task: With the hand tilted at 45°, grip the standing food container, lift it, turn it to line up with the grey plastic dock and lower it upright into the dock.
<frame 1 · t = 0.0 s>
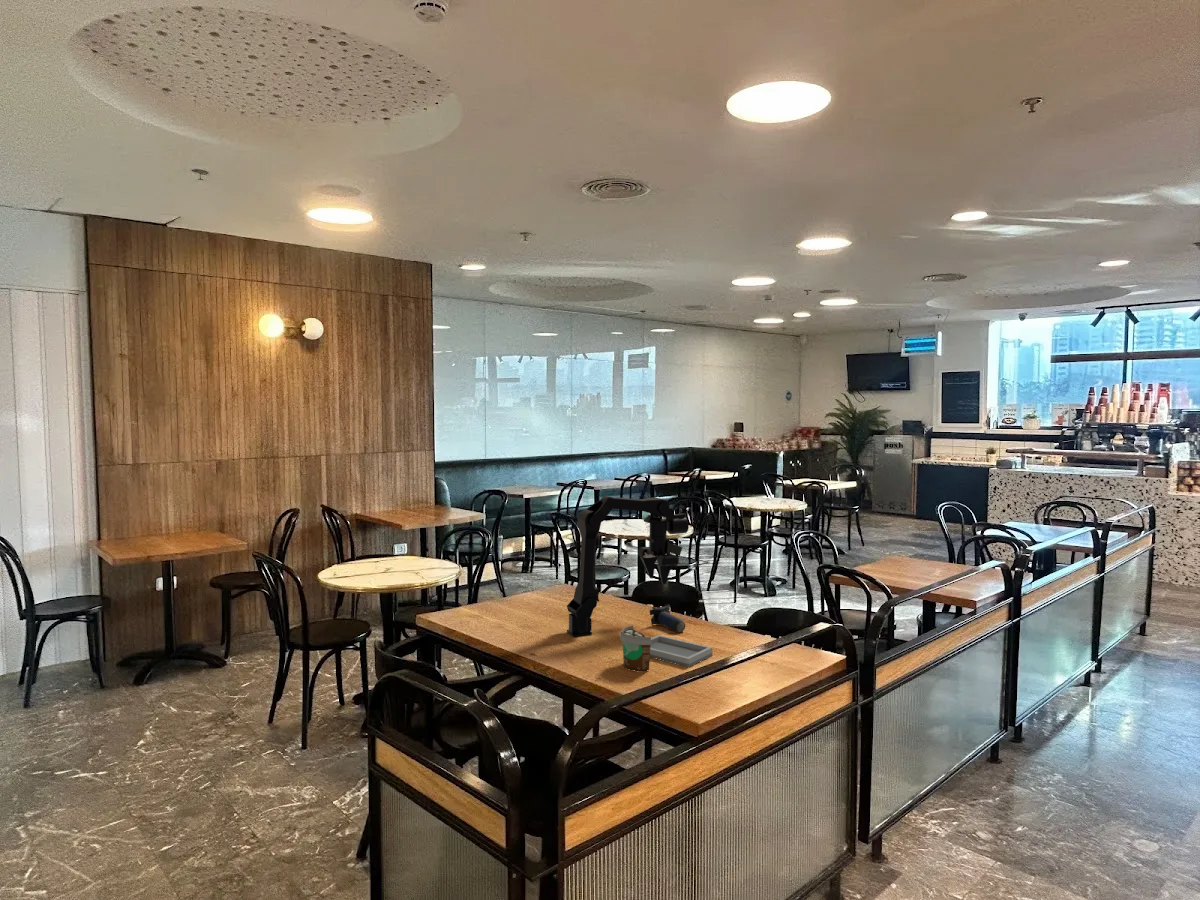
hand: (657, 580, 248), 15 cm above the table, tool pointing down, fingers open, 9 cm apart
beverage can: (669, 629, 244), on the table
dock: (673, 654, 217), on the table
food container: (631, 667, 206), on the table
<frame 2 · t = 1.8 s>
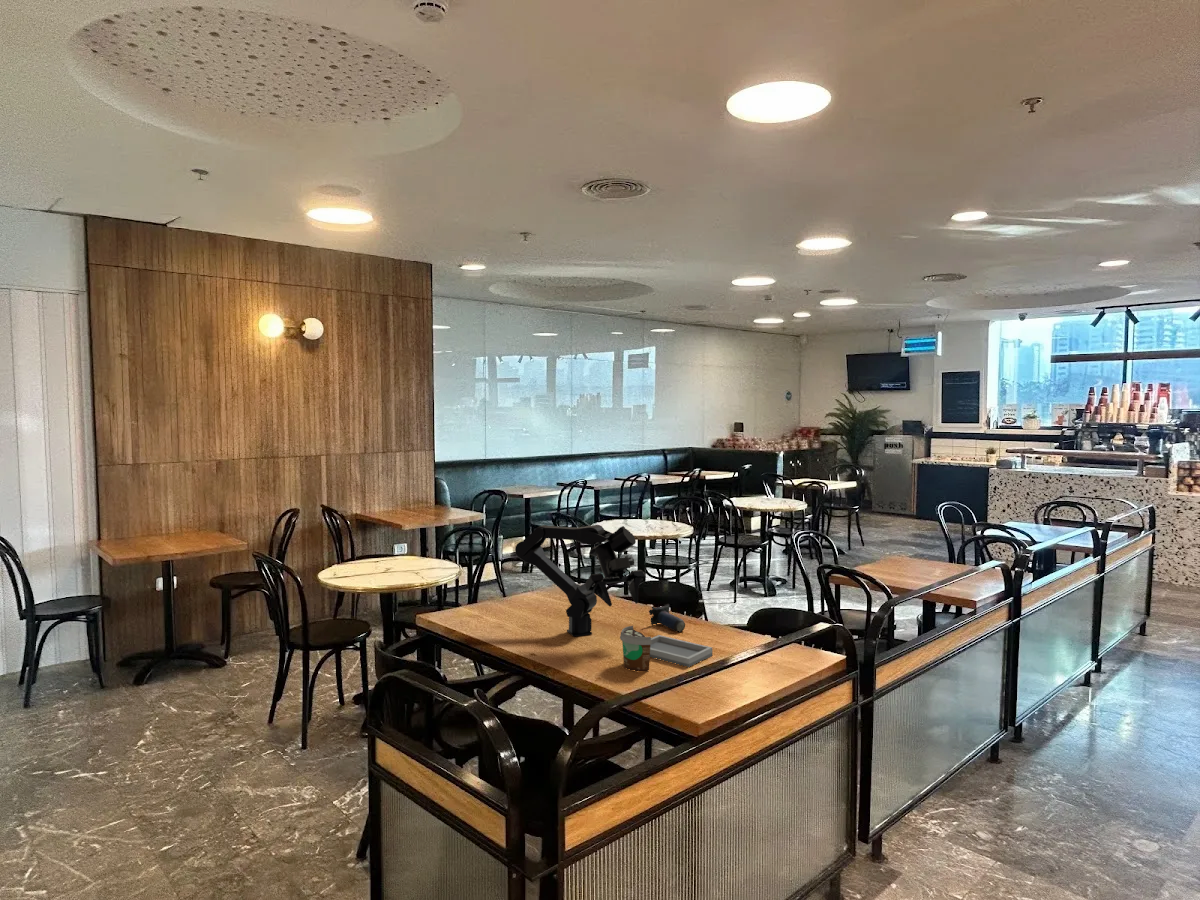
hand: (624, 604, 222), 13 cm above the table, tool tilted 45°, fingers open, 9 cm apart
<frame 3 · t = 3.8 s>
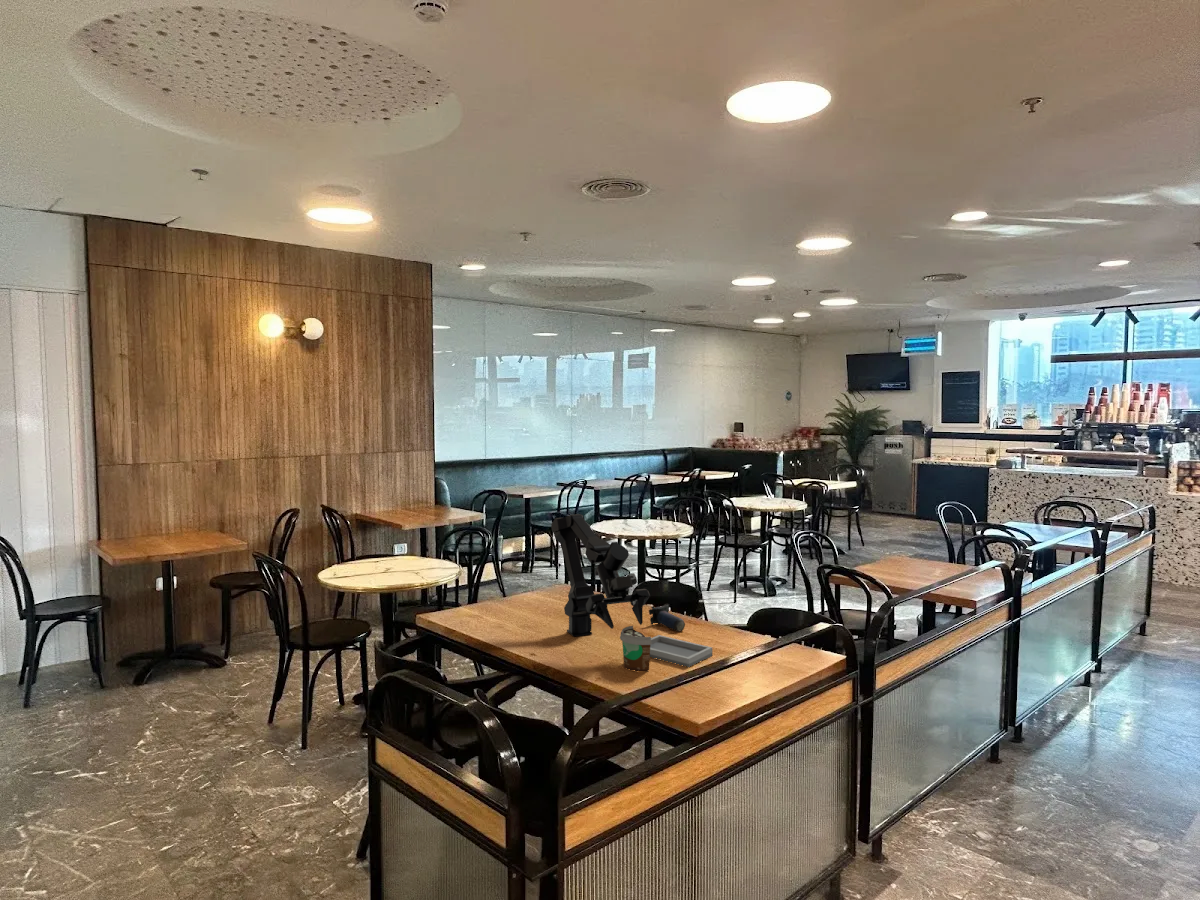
hand: (627, 625, 209), 11 cm above the table, tool tilted 45°, fingers open, 9 cm apart
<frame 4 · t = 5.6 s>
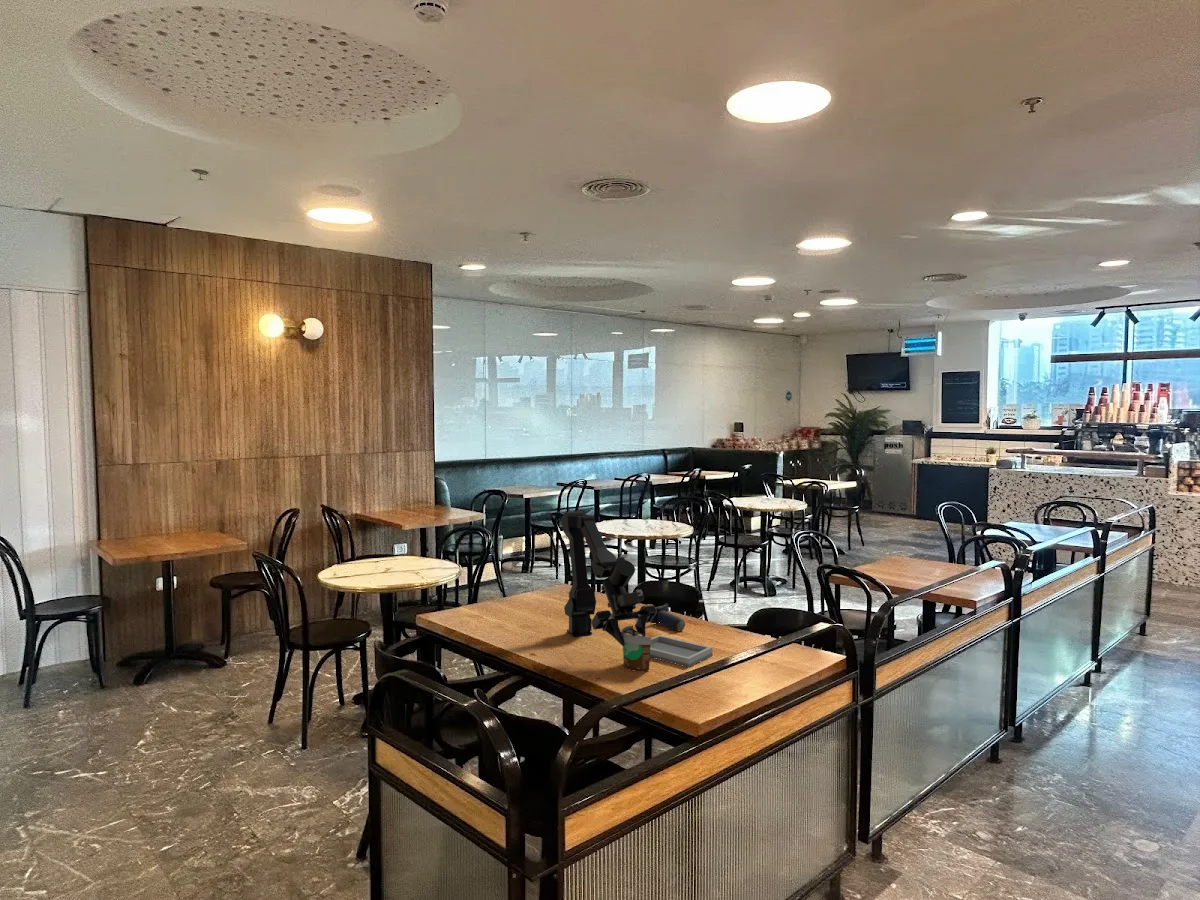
hand: (634, 643, 204), 7 cm above the table, tool tilted 45°, fingers closed on food container, 6 cm apart
food container: (631, 667, 206), on the table, touching gripper
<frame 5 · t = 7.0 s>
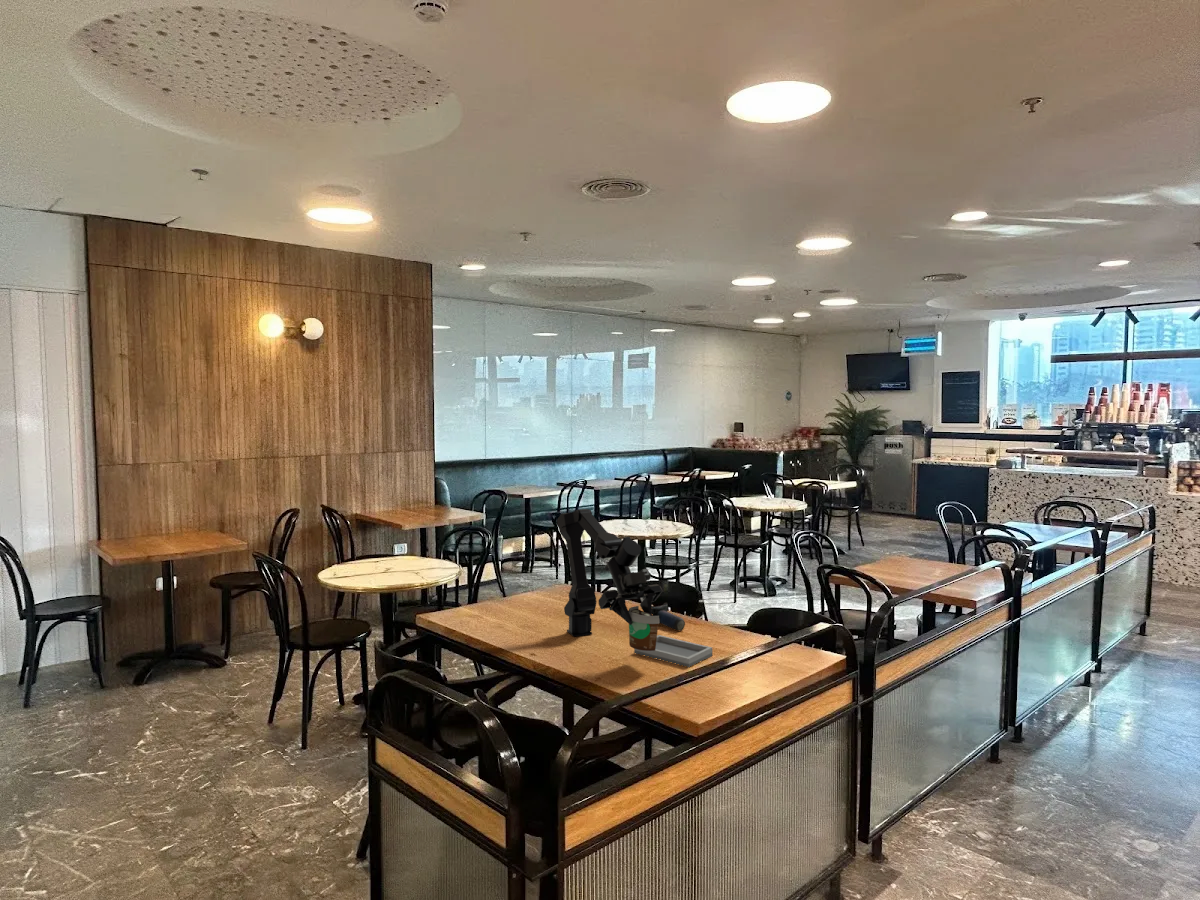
hand: (641, 622, 205), 13 cm above the table, tool tilted 45°, fingers closed on food container, 6 cm apart
food container: (637, 647, 207), point 5 cm above the table, touching gripper
when the fingers open (10 cm above the table, at t = 8.9 s): food container drops 2 cm, resting on dock.
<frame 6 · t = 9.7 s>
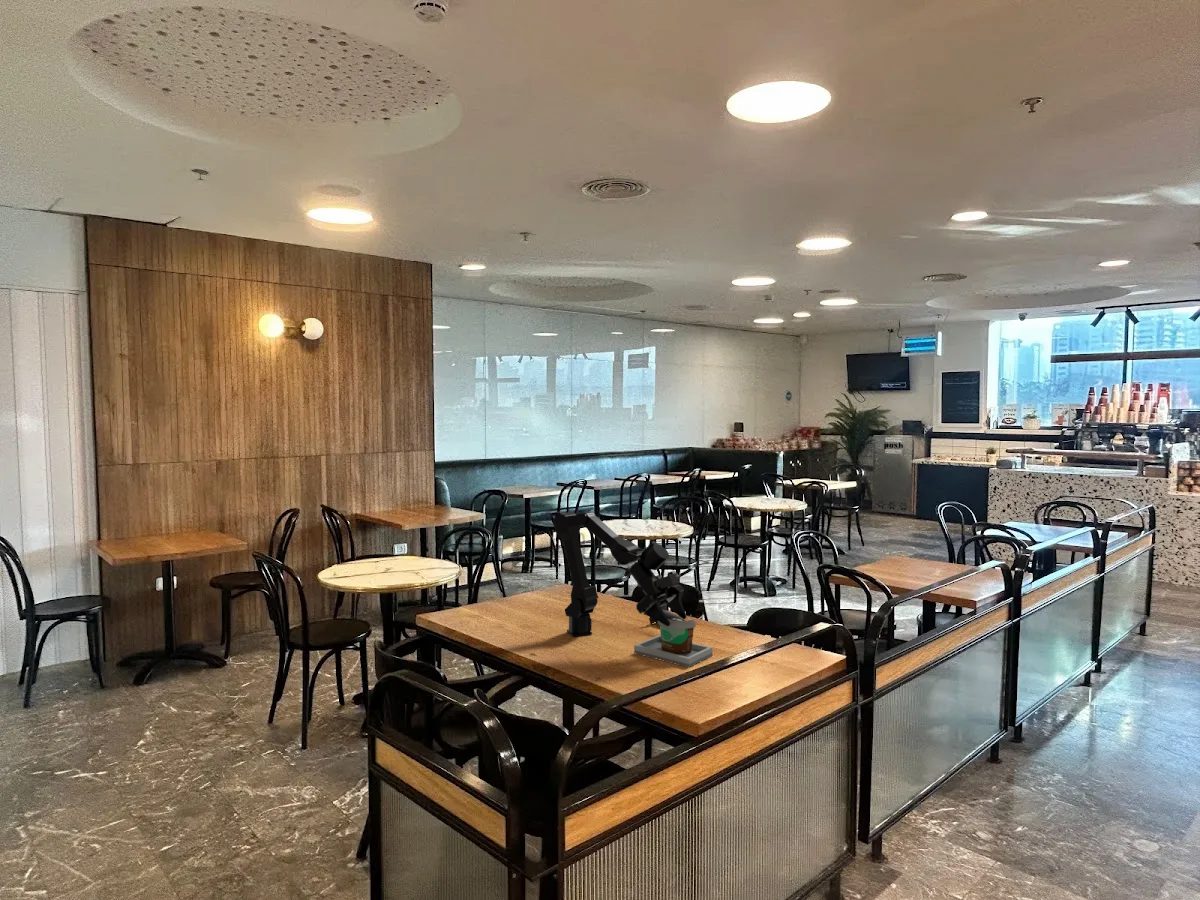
hand: (677, 621, 215), 10 cm above the table, tool tilted 45°, fingers open, 9 cm apart
food container: (672, 652, 216), point 1 cm above the table, touching dock
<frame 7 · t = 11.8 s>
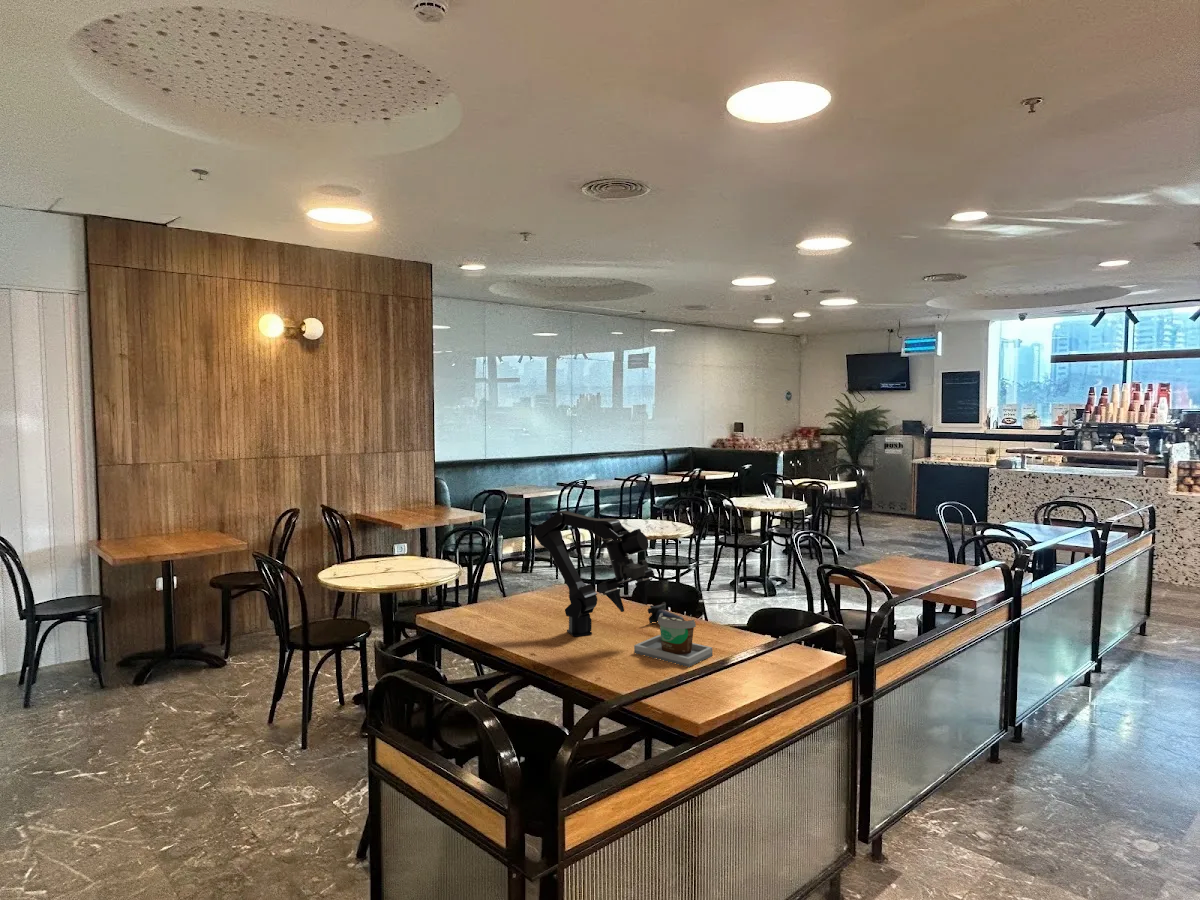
hand: (634, 607, 225), 12 cm above the table, tool tilted 20°, fingers open, 9 cm apart
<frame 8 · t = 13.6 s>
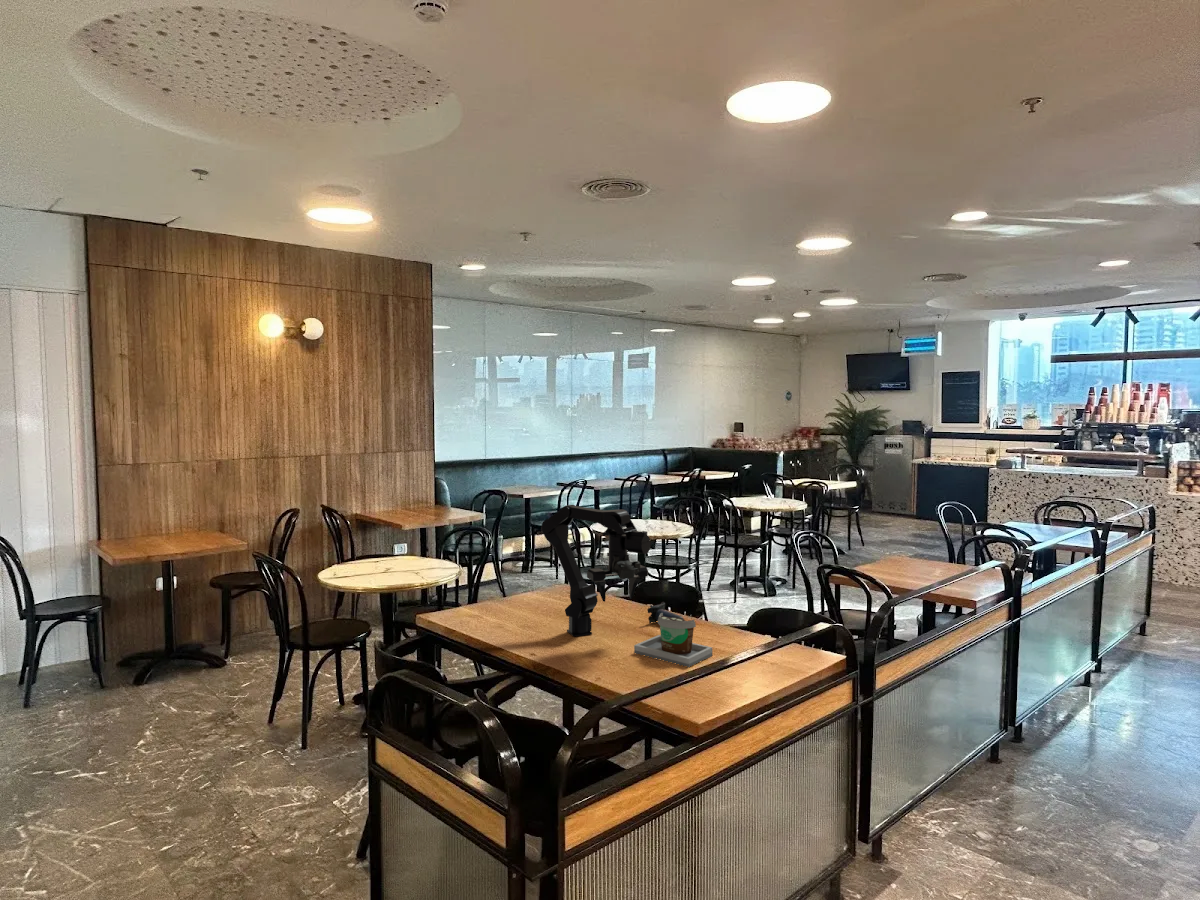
hand: (617, 600, 229), 13 cm above the table, tool pointing down, fingers open, 9 cm apart
at the end: food container 0.4 cm off-centre on the dock, point 0.8 cm above the dock's base; food container tilted 0°; the gripper is holding nothing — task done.
